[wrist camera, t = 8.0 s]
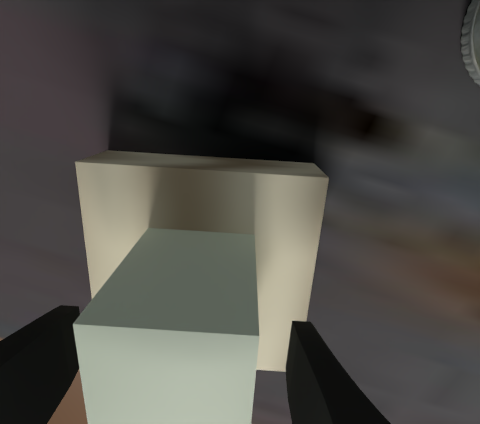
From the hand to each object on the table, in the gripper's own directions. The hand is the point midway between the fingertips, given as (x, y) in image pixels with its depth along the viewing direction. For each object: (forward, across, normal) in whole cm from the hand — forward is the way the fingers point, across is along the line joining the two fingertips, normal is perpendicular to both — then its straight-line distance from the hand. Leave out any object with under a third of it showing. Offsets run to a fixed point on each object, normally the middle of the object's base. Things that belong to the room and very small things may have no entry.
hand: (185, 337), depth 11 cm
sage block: (+4, 0, 0) cm, 4 cm away
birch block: (+7, 0, 0) cm, 7 cm away
